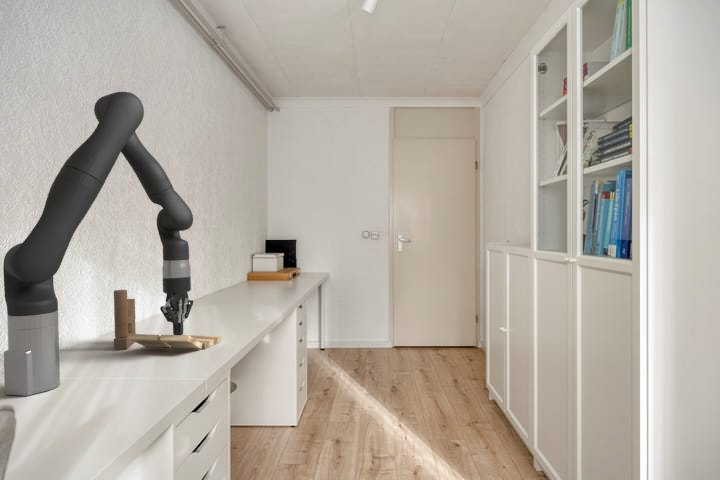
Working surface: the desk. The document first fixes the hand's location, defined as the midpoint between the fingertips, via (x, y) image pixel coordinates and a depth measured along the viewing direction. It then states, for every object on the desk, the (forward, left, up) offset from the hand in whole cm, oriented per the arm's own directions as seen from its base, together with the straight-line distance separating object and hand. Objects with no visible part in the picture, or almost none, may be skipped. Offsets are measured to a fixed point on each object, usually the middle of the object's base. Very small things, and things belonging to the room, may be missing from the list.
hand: (178, 335), depth 128 cm
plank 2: (+1, 0, -3) cm, 3 cm away
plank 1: (+1, +10, -3) cm, 11 cm away
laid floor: (+11, +5, -5) cm, 13 cm away
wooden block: (+6, +23, -6) cm, 25 cm away
